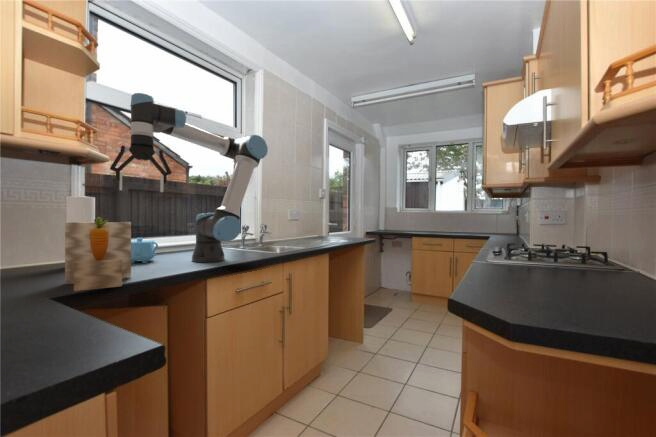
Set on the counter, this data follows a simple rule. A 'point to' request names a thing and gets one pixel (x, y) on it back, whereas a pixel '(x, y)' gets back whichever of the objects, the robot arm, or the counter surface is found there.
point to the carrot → (99, 239)
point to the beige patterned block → (84, 265)
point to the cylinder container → (80, 209)
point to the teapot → (142, 250)
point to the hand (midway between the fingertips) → (142, 191)
